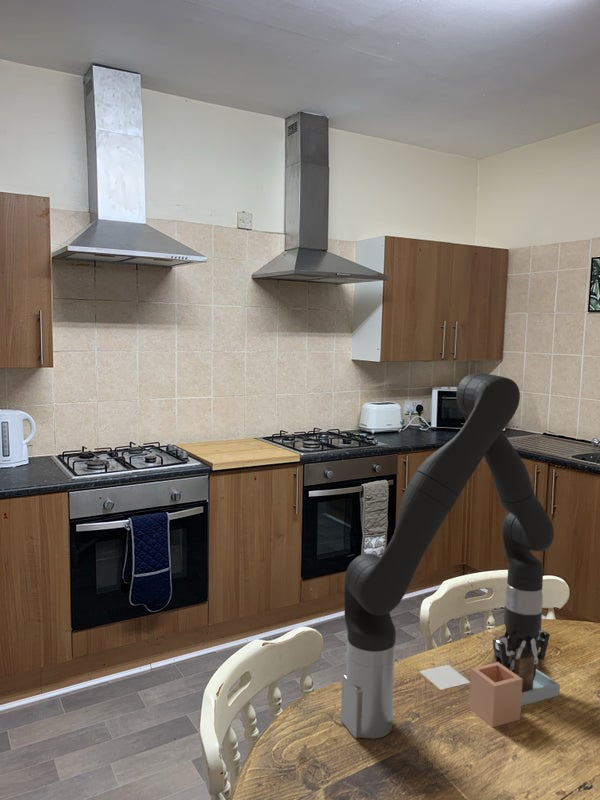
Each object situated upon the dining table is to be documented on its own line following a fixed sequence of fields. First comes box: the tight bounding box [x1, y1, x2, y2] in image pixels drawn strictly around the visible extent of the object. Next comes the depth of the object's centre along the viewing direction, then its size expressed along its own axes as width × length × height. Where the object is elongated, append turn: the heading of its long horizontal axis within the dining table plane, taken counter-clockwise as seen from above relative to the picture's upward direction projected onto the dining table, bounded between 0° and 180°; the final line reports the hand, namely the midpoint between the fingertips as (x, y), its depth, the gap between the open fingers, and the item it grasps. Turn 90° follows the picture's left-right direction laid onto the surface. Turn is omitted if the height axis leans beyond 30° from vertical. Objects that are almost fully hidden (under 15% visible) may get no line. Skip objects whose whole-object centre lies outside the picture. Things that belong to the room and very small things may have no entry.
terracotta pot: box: [468, 661, 523, 728], centre depth 123 cm, size 7×7×9 cm
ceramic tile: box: [418, 664, 470, 691], centre depth 137 cm, size 8×8×1 cm
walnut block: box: [508, 650, 535, 692], centre depth 132 cm, size 4×4×8 cm
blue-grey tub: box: [521, 669, 561, 707], centre depth 132 cm, size 13×10×3 cm
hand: (519, 681), depth 132 cm, fingers open, 5 cm apart
